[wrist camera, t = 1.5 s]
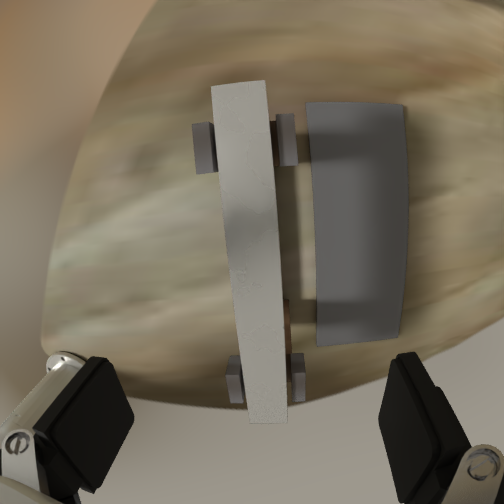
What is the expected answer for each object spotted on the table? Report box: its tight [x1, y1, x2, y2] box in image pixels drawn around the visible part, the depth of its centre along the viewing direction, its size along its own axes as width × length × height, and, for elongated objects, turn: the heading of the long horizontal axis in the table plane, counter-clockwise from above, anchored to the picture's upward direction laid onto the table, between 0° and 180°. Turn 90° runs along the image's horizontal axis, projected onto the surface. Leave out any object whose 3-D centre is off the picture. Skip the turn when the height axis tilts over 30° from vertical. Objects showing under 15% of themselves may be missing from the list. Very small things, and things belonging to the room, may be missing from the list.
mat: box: [306, 102, 409, 347], centre depth 29 cm, size 26×10×1 cm, turn 4°
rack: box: [192, 113, 306, 403], centre depth 25 cm, size 20×6×12 cm, turn 4°
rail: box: [211, 80, 288, 424], centre depth 20 cm, size 24×3×3 cm, turn 4°
